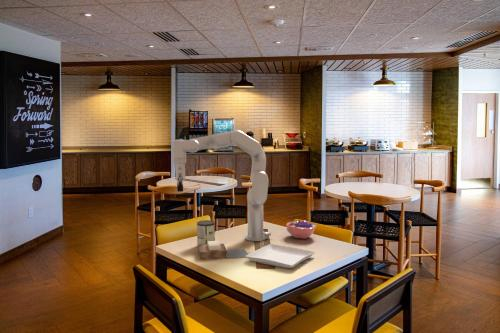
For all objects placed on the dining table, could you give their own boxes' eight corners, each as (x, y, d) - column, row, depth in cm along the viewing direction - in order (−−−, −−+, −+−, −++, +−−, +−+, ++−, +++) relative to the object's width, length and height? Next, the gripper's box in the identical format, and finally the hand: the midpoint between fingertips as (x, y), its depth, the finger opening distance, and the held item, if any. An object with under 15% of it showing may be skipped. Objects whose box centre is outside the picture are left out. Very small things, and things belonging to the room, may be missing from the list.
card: (218, 245, 234) (218, 240, 234) (220, 249, 225) (220, 245, 225) (207, 245, 233) (207, 241, 233) (209, 250, 224) (209, 245, 224)
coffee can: (202, 243, 252) (202, 219, 251) (218, 245, 248) (218, 221, 247) (193, 247, 243) (193, 223, 242) (209, 249, 239) (209, 225, 237)
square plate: (292, 272, 203) (292, 264, 203) (244, 262, 218) (244, 255, 217) (315, 257, 226) (315, 250, 226) (270, 249, 241) (270, 242, 240)
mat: (244, 249, 240) (244, 248, 240) (249, 257, 225) (249, 256, 225) (225, 250, 238) (225, 249, 238) (228, 258, 223) (228, 258, 223)
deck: (223, 250, 237) (223, 243, 237) (226, 258, 224) (226, 250, 223) (198, 251, 235) (198, 244, 234) (199, 259, 221) (199, 252, 221)
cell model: (301, 232, 278) (301, 215, 276) (321, 239, 261) (322, 221, 259) (280, 235, 269) (280, 218, 268) (299, 243, 252) (299, 224, 251)
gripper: (186, 162, 241) (187, 192, 243) (185, 159, 258) (186, 187, 260) (173, 162, 240) (173, 192, 242) (173, 159, 257) (173, 188, 258)
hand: (180, 190), depth 251 cm, fingers open, 9 cm apart
